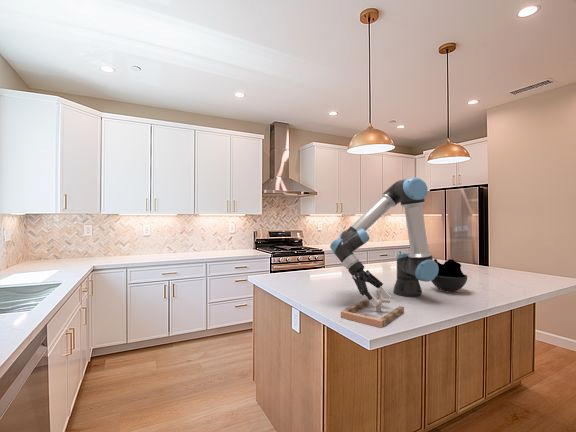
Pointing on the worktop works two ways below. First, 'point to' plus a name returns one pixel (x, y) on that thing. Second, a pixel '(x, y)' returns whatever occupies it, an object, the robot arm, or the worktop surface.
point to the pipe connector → (380, 300)
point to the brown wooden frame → (386, 318)
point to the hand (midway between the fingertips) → (383, 301)
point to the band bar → (362, 319)
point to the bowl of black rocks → (449, 276)
